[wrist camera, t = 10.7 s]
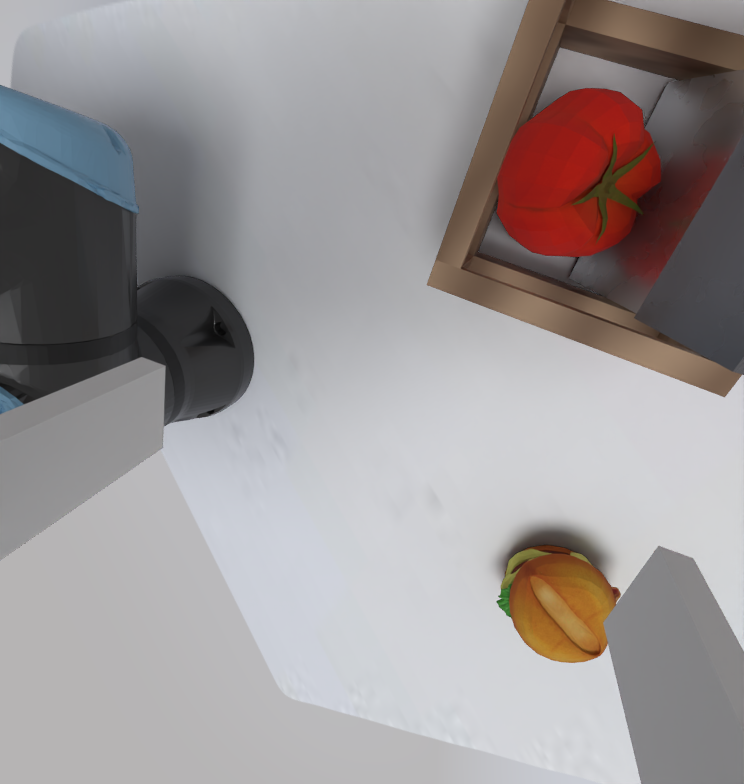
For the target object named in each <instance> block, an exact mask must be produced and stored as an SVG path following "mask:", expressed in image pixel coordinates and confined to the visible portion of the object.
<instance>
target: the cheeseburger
mask: <svg viewBox="0 0 744 784" xmlns="http://www.w3.org/2000/svg"><path fill="white" fill-rule="evenodd" d="M620 595H621V594H620V591H619V590H618V588H616V587H611V585H610V584H609V583H608V581H607V580H606V578H605V577H604V575H603V574H602V573H601V572H600V571H599V570H597V569H596V568H595V567H593V565H592V564H591V563H590V562H589V561H588V560H587V558H586V557H584V556H583V555H581V554H579V553H575V552H573V551H571V550H569V549H566V548H563V547H556V546H549V545H542V546H536V547H529V548H527V549H525V550H523V551H521V552H518V553H517V554H515V555H514V556H513V557H512V558H511V559H510V560H509V562H508V567H507V569H506V571H505V578H504V579H503V581H502V584H501V594H500V596H498V597H500V598H502V599H501V600H498V601H497V603H498V604H499V607H500V608H501V609H502V610H503V611H505V613H506V615H507V616H509V617H511V618H512V620H513V623H514V627H515V628H516V630H517V632H518V633H519V635H520V636H521V638H522V639H523V641H524V642H525V643H526V644H527V645H528V646H529V647H530V648H532V649H533V650H534V651H535V652H536V653H537V654H540V655H542V656H544V657H546V658H548V659H551V660H554V661H559V662H568V663H576V662H585V661H588V660H591V659H594V658H597V657H598V656H600V655H601V654H602V653H603V652H604V650H605V649H606V646H607V644H608V641H607V637H606V633H605V628H604V624H603V622H604V621H605V620H606V618H607V617H608V615H609V614H610V613H611V611H612V610H613V608H614V607H615V606H616V602H617V600H618V599H619V598H620Z"/></svg>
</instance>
